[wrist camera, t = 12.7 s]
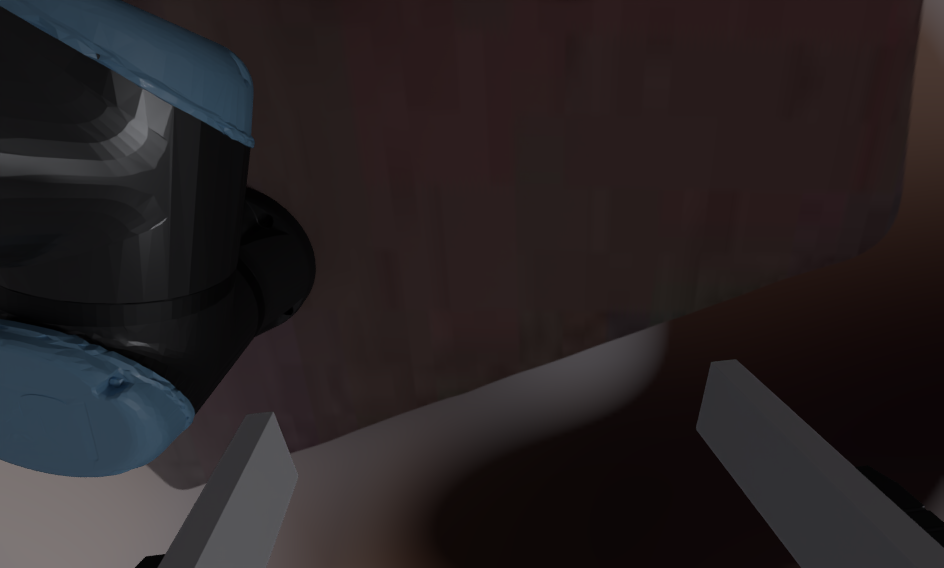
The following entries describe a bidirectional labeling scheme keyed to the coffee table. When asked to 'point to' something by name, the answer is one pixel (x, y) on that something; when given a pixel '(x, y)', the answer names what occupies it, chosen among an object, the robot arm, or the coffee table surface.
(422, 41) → the coffee table surface
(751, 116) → the coffee table surface
